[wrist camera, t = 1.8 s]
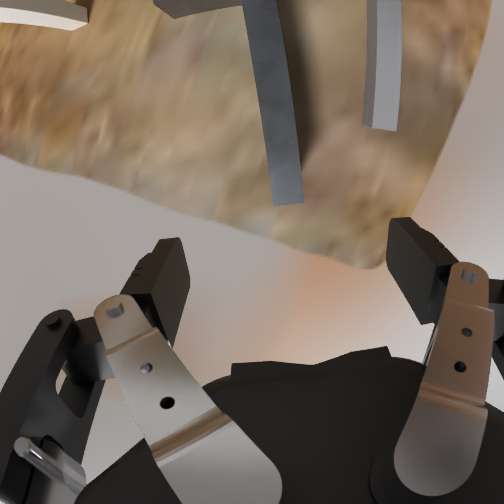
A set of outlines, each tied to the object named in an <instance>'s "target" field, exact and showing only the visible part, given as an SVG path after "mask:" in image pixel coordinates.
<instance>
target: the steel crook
mask: <svg viewBox="0 0 504 504" xmlns="http://www.w3.org/2000/svg"><path fill="white" fill-rule="evenodd" d="M153 3H154V5H156V6H157V7H158V8H160V9H161V10H163V11H164V12H165V13H167V14H168V15H169V16H171V17H172V18H173V19H176V18H180V17H184V16H188V15H192V14H197V13H201V12H206V11H211V10H216V9H221V8H227V7H233V6H239V5H242V6H243V12H244V17H245V23H246V28H247V34H248V40H249V45H250V51H251V57H252V63H253V69H254V75H255V81H256V88H257V94H258V100H259V106H260V113H261V119H262V126H263V133H264V139H265V146H266V153H267V160H268V167H269V174H270V181H271V189H272V196H273V204H274V206H280V205H288V204H297V203H304V195H303V185H302V175H301V165H300V156H299V147H298V139H297V130H296V122H295V115H294V107H293V100H292V93H291V86H290V79H289V72H288V66H287V59H286V53H285V47H284V41H283V35H282V30H281V24H280V19H279V13H278V8H277V3H276V0H153Z"/></svg>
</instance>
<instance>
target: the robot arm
mask: <svg viewBox="0 0 504 504" xmlns="http://www.w3.org/2000/svg"><path fill="white" fill-rule="evenodd" d="M386 263H387V267H388V270H389V271H390V273H391V275H392V276H393V278H394V279H395V281H396V283H397V284H398V286H399V288H400V289H401V291H402V292H403V294H404V296H405V298H406V299H407V301H408V303H409V304H410V306H411V308H412V310H413V311H414V313H415V315H416V317H417V318H418V320H419V322H420V324H421V325H423V324H428V323H434V324H435V326H434V329H433V332H432V335H431V338H430V342H429V344H428V347H427V351H426V354H425V357H424V360H423V363H422V364H421V363H419V362H416V361H413V360H410V359H405V358H399V357H391V354H390V352H389V349H388V347H387V346H384V347H379V348H373V349H367V350H360V351H354V352H350V353H347V354H344V355H341V356H339V357H336V358H333V359H330V360H327V361H324V362H321V363H318V364H315V365H305V364H295V363H284V362H276V361H263V362H248V363H233V364H232V367H231V375H229V376H225V377H222V378H220V379H216V380H214V381H212V382H210V383H208V384H206V385H204V386H203V387H201V386H200V385H199V384H198V383H197V381H196V380H195V379H194V378H193V376H192V375H191V374H190V372H189V371H188V370H187V368H186V367H185V366H184V365H183V363H182V362H181V360H180V359H179V358H178V356H177V355H176V354H175V352H174V351H173V350H172V348H173V345H174V341H175V337H176V334H177V330H178V327H179V323H180V319H181V316H182V312H183V309H184V305H185V302H186V299H187V295H188V292H189V289H190V275H189V270H188V267H187V262H186V258H185V254H184V250H183V246H182V242H181V240H180V238H179V237H176V238H168V239H160V240H159V241H158V243H157V245H156V246H155V248H154V250H153V252H152V253H148V254H147V255H145V256H144V257H143V258H142V259H140V260H139V262H138V264H137V265H136V267H135V270H133V272H132V273H131V277H129V279H128V280H127V282H126V284H125V286H124V287H123V289H122V291H121V293H120V294H119V295H116V296H112V297H110V298H107V299H106V300H104V301H103V302H101V303H100V304H99V305H98V306H97V307H96V309H95V311H94V316H93V317H89V318H85V319H82V320H78V321H75V319H74V318H73V315H72V313H71V312H70V311H68V310H64V309H63V310H57V311H54V312H52V313H50V314H48V315H47V316H46V317H44V318H43V319H42V321H41V322H40V323H39V325H38V326H37V328H36V330H35V331H34V333H33V334H32V336H31V338H30V339H29V341H28V343H27V344H26V346H25V348H24V350H23V351H22V353H21V355H20V357H19V358H18V360H17V362H16V363H15V365H14V367H13V369H12V371H11V373H10V375H9V377H8V378H7V380H6V382H5V384H4V386H3V388H2V390H1V392H0V504H504V412H502V411H500V410H499V409H497V408H496V407H494V406H492V405H490V404H489V403H487V402H486V401H485V399H486V393H487V388H488V381H489V374H490V365H491V357H492V358H493V360H494V362H495V364H496V366H497V367H498V369H499V371H500V373H501V375H502V377H503V379H504V280H498V279H489V277H488V274H487V273H486V271H485V270H484V269H482V268H481V267H479V266H478V265H475V264H472V263H469V262H459V261H458V260H457V259H456V258H455V257H454V256H453V254H451V252H450V251H449V250H448V249H447V248H445V246H444V245H443V244H442V243H441V242H439V240H438V239H437V238H436V237H435V236H434V235H433V234H432V233H430V232H428V231H426V230H424V229H423V228H421V227H419V226H418V224H416V223H415V222H414V221H413V220H412V219H411V218H410V217H402V218H392V219H391V220H390V223H389V231H388V242H387V251H386ZM61 368H62V370H63V371H64V372H65V374H66V375H67V376H66V378H65V380H64V383H63V385H62V388H61V390H60V392H59V395H58V394H57V392H56V386H55V384H56V379H57V377H58V375H59V373H60V370H61ZM110 378H115V379H116V381H117V383H118V385H119V388H120V390H121V392H122V394H123V396H124V398H125V401H126V402H127V405H128V407H129V409H130V411H131V413H132V415H133V417H134V419H135V421H136V423H137V425H138V427H139V429H140V431H141V432H142V434H143V436H144V438H143V439H142V440H140V441H139V442H138V443H137V444H136V445H135V446H134V447H132V448H131V449H130V450H129V451H128V452H126V453H125V454H124V455H123V456H122V457H121V458H119V459H118V460H117V461H116V462H115V463H113V464H112V465H111V466H110V467H109V468H107V469H106V470H105V471H104V472H102V473H101V474H100V475H99V476H98V477H96V478H95V479H94V480H92V482H90V483H89V484H88V485H87V484H86V474H85V471H84V469H83V467H82V466H81V463H82V459H83V455H84V451H85V447H86V443H87V440H88V436H89V433H90V429H91V426H92V422H93V419H94V415H95V412H96V409H97V405H98V402H99V399H100V396H101V393H102V389H103V386H104V383H105V380H106V379H110Z"/></svg>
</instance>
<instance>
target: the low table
mask: <svg viewBox="0 0 504 504" xmlns="http://www.w3.org/2000/svg"><path fill="white" fill-rule="evenodd" d="M0 22H7V23H20V24H30V25H38V26H46V27H53V28H59V29H65V30H71V31H73V30H75V29H77V28H79V27H81V26H84V25H86V24H88V16H87V8H85V7H82V6H79V5H76V4H73V3H70V2H66V1H63V0H0Z"/></svg>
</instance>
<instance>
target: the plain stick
mask: <svg viewBox="0 0 504 504" xmlns="http://www.w3.org/2000/svg"><path fill="white" fill-rule="evenodd" d="M401 63H402V4H401V0H367V61H366V83H365V99H364V112H363V124H364V125H367V126H369V127H372V128H378V129H384V130H390V131H396V130H397V120H398V110H399V98H400V83H401Z"/></svg>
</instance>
